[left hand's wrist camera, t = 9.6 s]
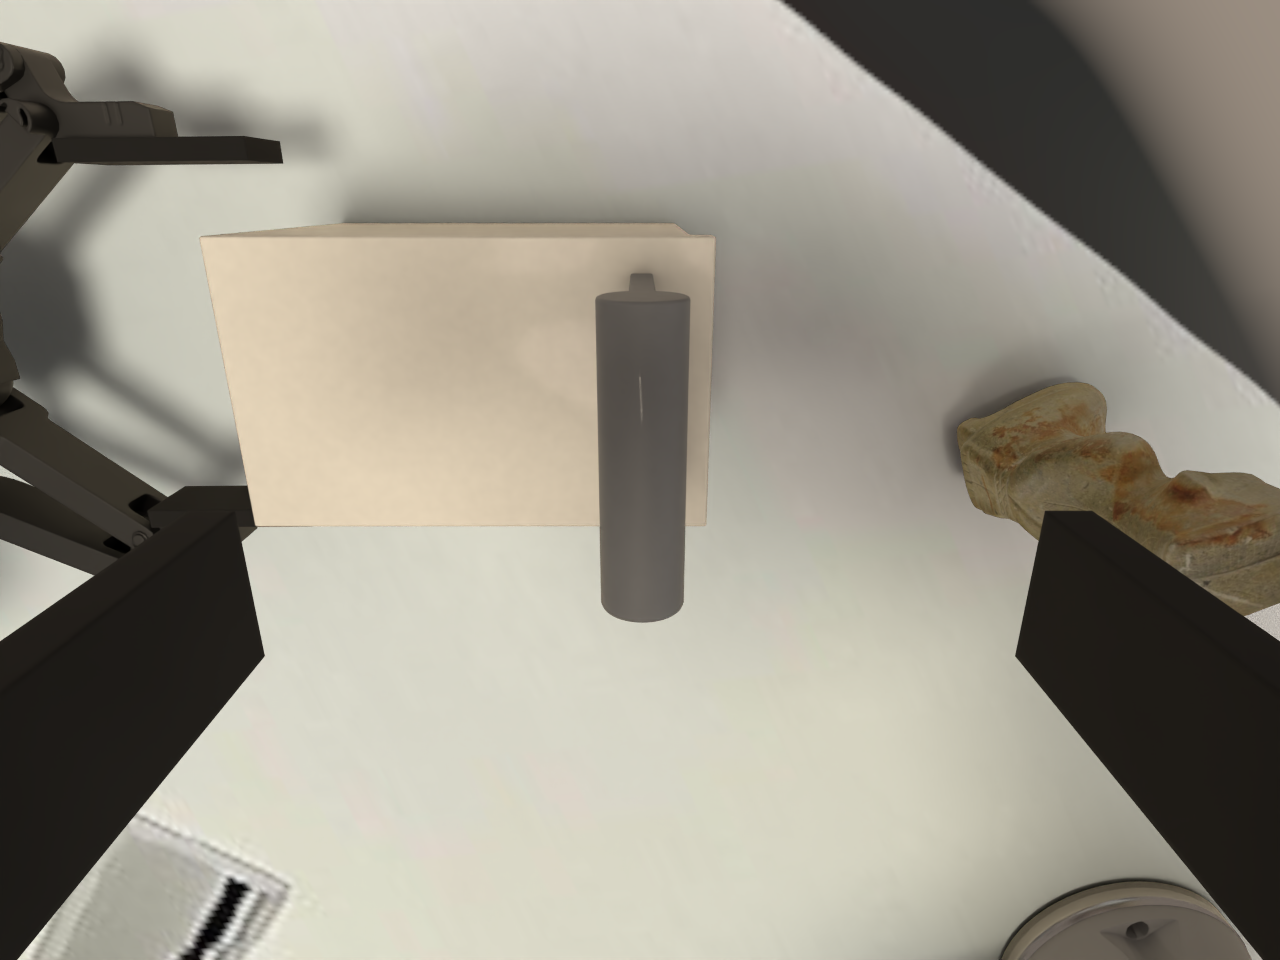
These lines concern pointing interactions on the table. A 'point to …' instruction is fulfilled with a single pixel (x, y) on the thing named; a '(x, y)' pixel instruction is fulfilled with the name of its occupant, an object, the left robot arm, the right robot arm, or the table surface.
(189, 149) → the right robot arm
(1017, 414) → the sculpture
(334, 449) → the lid
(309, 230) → the chest
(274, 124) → the table surface
